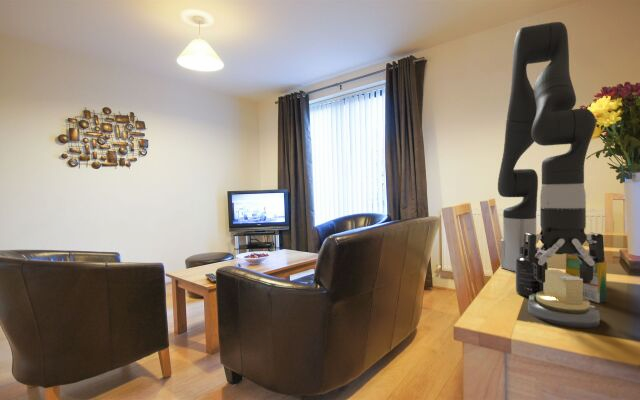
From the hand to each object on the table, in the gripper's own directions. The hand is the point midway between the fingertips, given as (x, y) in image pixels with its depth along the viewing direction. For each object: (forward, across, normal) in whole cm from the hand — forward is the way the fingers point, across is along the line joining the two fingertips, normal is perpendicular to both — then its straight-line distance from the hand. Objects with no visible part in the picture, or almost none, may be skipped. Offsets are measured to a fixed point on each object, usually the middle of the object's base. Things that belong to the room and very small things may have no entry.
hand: (562, 282), depth 65 cm
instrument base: (+7, 0, 0) cm, 7 cm away
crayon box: (+7, -12, -12) cm, 19 cm away
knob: (+5, 0, 0) cm, 5 cm away
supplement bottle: (+7, -1, -14) cm, 16 cm away
